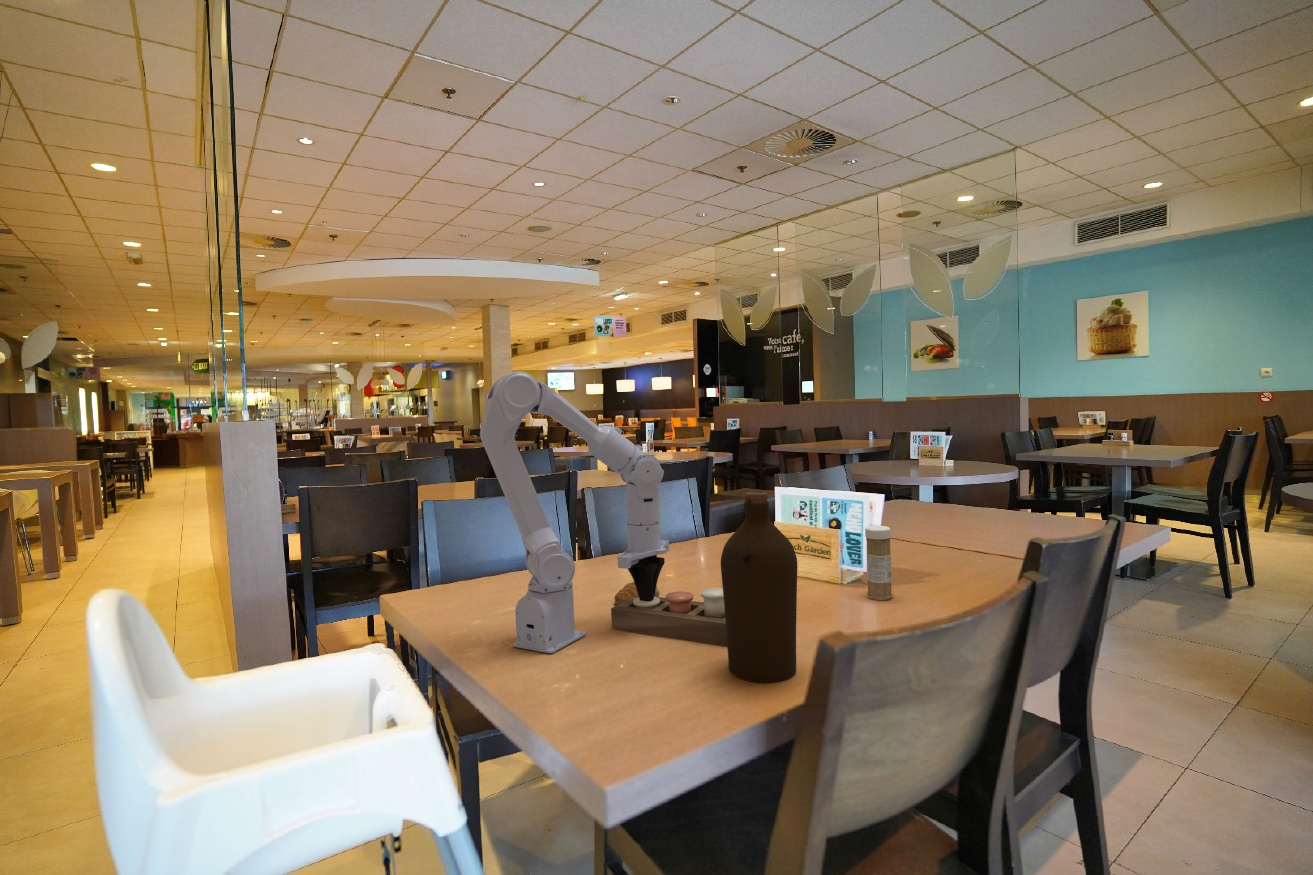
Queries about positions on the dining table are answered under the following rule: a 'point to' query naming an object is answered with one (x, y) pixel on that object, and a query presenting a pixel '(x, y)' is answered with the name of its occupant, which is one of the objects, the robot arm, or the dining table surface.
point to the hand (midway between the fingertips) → (646, 600)
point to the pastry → (629, 593)
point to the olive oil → (760, 596)
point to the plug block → (670, 622)
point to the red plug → (679, 602)
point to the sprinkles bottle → (878, 562)
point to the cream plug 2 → (713, 602)
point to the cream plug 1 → (646, 603)
